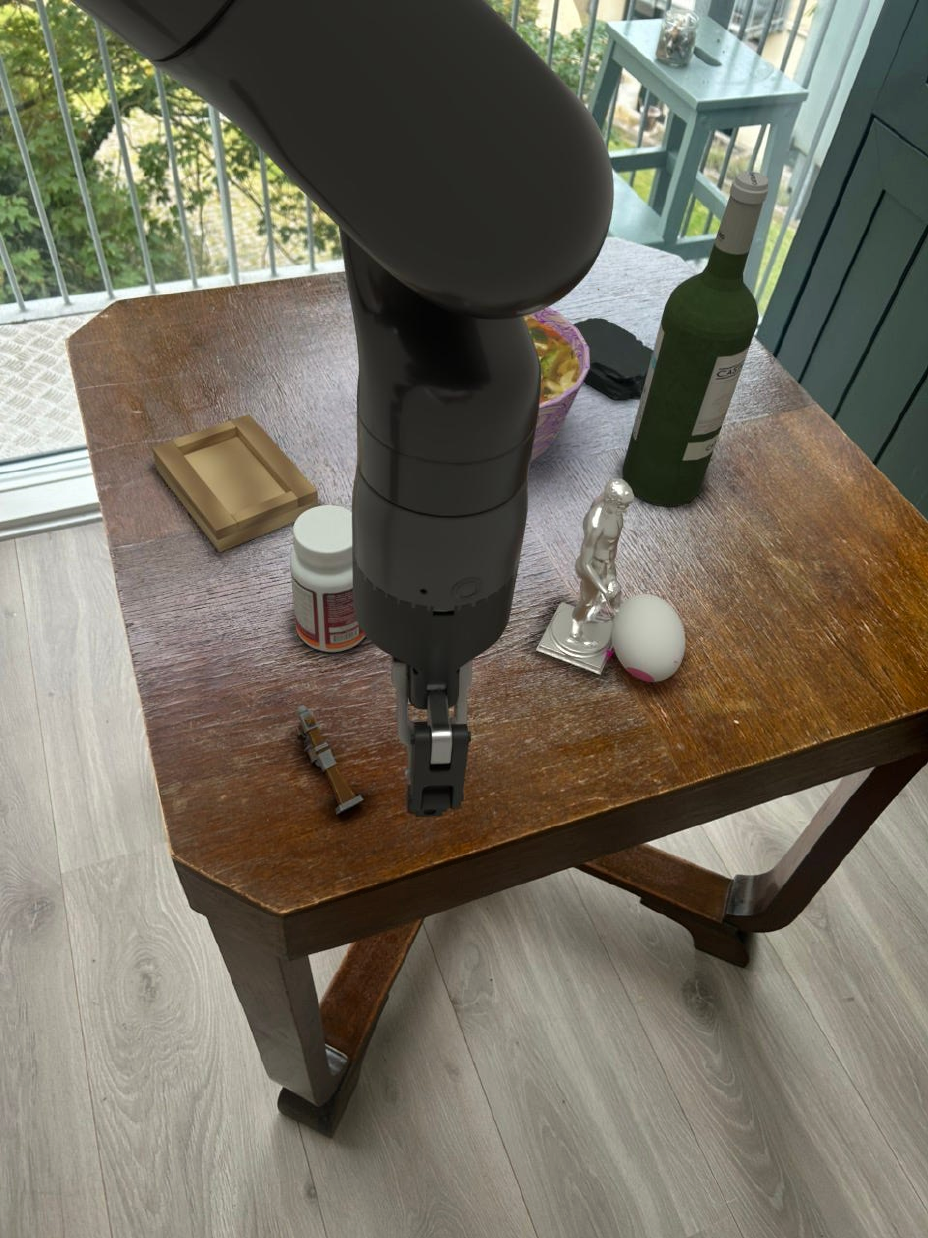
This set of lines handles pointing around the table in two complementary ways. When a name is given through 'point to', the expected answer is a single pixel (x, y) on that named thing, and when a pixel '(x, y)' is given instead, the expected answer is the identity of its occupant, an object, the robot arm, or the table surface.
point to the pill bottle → (324, 579)
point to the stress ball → (648, 638)
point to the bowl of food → (556, 371)
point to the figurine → (592, 586)
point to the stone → (614, 358)
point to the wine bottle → (697, 360)
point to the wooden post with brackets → (325, 759)
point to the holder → (234, 481)
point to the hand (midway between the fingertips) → (421, 742)
